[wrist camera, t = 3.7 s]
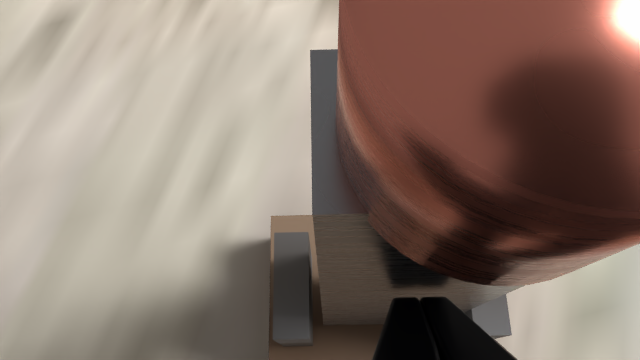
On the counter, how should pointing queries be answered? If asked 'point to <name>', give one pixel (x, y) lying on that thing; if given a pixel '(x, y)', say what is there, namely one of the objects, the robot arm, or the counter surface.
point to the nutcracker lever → (471, 148)
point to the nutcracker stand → (306, 310)
